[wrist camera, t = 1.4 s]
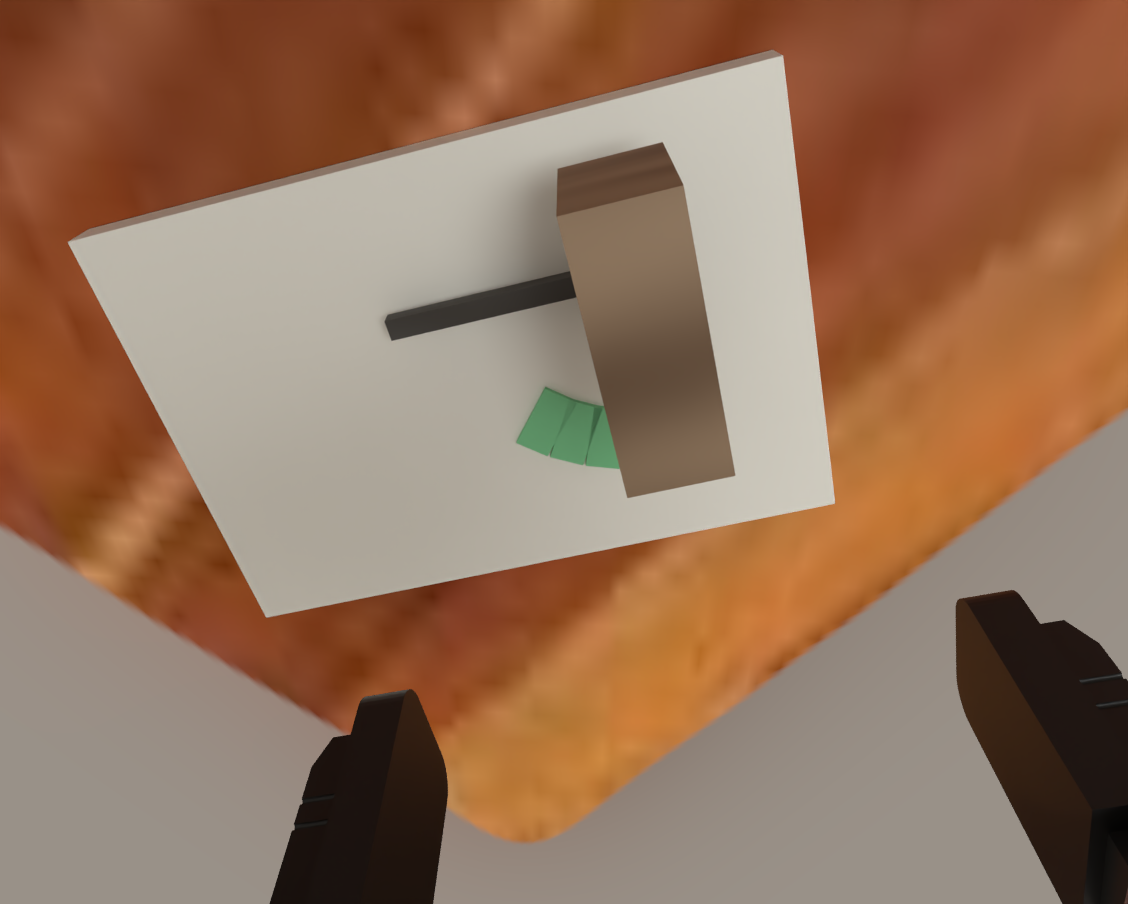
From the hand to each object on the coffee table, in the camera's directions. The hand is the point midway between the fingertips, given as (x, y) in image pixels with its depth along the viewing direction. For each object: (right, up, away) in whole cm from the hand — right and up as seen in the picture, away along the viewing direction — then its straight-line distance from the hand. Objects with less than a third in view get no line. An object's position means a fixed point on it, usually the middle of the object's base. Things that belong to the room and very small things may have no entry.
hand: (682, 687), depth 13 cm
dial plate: (-5, +7, +19) cm, 21 cm away
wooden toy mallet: (-3, +9, +16) cm, 19 cm away
